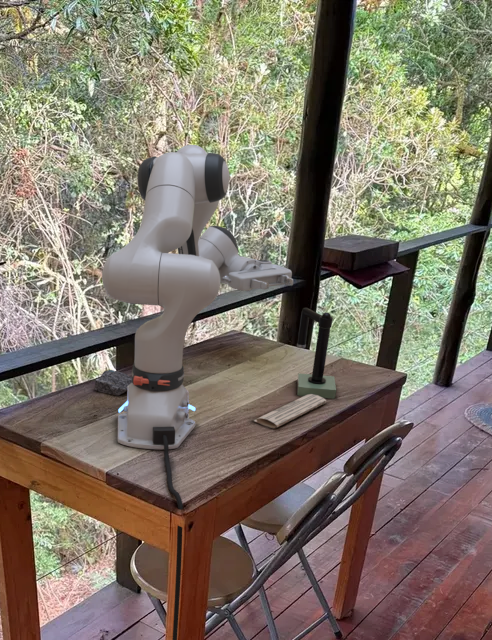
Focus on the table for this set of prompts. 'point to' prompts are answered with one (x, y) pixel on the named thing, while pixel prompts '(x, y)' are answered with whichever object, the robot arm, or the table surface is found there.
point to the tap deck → (316, 386)
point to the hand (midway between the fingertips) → (279, 284)
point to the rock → (113, 382)
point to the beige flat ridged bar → (290, 411)
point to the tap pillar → (320, 356)
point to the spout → (323, 321)
